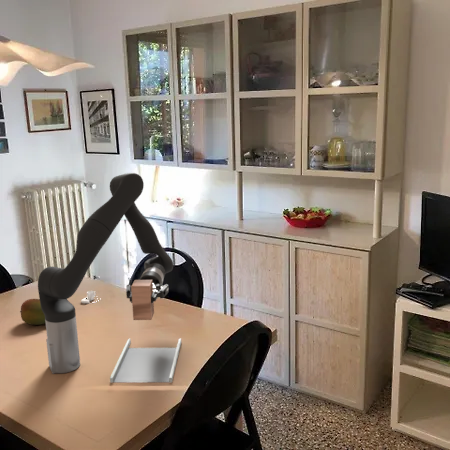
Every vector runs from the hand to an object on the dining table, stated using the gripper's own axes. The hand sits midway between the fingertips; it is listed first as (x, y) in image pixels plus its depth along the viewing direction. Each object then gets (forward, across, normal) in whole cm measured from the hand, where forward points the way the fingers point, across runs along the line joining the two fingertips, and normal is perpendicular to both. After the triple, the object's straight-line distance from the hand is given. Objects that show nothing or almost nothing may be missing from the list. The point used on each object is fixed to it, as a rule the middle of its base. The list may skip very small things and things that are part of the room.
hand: (142, 300), depth 153 cm
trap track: (-4, 0, +24) cm, 24 cm away
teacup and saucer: (-60, -38, +25) cm, 75 cm away
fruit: (-36, -48, +24) cm, 65 cm away
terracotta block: (-1, 0, +6) cm, 6 cm away
